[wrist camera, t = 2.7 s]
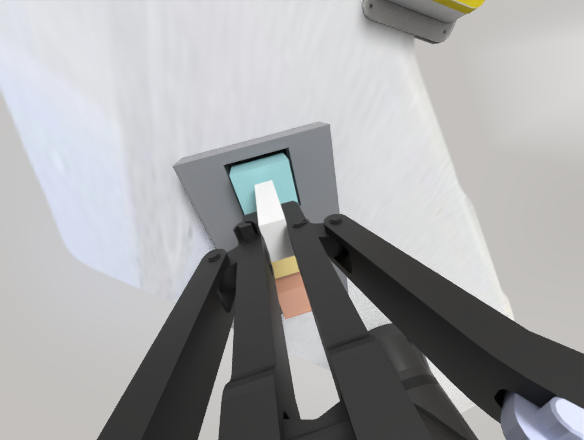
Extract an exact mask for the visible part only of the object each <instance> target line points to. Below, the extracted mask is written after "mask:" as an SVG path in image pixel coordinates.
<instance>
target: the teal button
mask: <svg viewBox="0 0 584 440" xmlns="http://www.w3.org/2000/svg"><path fill="white" fill-rule="evenodd" d="M229 176H230V179H231V181H232V184H233V186H234V189H235V192H236V194H237V197H238V199H239V202H240V204H241V207H242V209H243V212H244V214H245V215H246V214H249V213H253V212H256V211H257V205H256V195H255V186H254V185H256V184H259V183H263V182H267V181H270V180H272V181H273V184H274V187H275V190H276V193H277V196H278V199H279V202H280V204H282V203H286V202H289V201H295V202H297V203H298V200H297V195H296V191H295V187H294V182H293V178H292V173H291V169H290V164H289V160H288V158H287V157H286V156H285V154H284V153H283V152H282V153H278V154H275V155H271V156H267V157H264V158H260V159H256V160H253V161H249V162H245V163H241V164H238V165H234V166H232V167H231V171H230V175H229Z"/></svg>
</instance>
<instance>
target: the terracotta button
mask: <svg viewBox="0 0 584 440" xmlns="http://www.w3.org/2000/svg"><path fill="white" fill-rule="evenodd" d="M275 282H276V288H277V294H278V300H279V304H280V306H281V309H282V311H283V314H284V317H285V319H288V318H291V317H294V316H297V315H301V314H304V313H307V312H310V311H312V309H311V306H310V303H309V299H308V296H307V293H306V290H305V287H304V284H303V280H302V277H301V274H300V271H299V272H296V273H293V274H290V275H286V276H283V277H280V278H276V279H275Z"/></svg>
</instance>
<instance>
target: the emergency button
mask: <svg viewBox="0 0 584 440" xmlns="http://www.w3.org/2000/svg"><path fill="white" fill-rule="evenodd" d="M484 1H485V0H363V11H364V15H365V16H366V17H367V18H368V19H371V20H373V21H376V22H379V23H382V24H385V25H388V26H391V27H394V28H397V29H400V30H402V31H405V32H408V33H411V34H414V35H415V38H417V39H419V40H422V41H425V42H428V43H431V44H438V43H441V42H443V41H444V40H446V38H448V37H449V35H450V33H451V31H452V30H453V27H454V25H455V23H456V20H457V19H458V18H460V17H462V16H463V15H465V14H467V13H470V12H472V11H473V10H475V9H477V8H478V7H479V6H481V5H482V4H483V2H484Z"/></svg>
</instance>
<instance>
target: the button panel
mask: <svg viewBox="0 0 584 440" xmlns="http://www.w3.org/2000/svg"><path fill="white" fill-rule="evenodd" d="M281 149H285V151H286V155H287V158H288V160H289V164H290V169H291V173H292V178H293V182H294V187H295V191H296V195H297V200H298V204H299V207H300V208H301V210H302V212H303V214H304V216H305V218H306V219H308V220H309V221H310V223H324V219H325V218H326V217H327V216H329V215H332V214H339V205H338V196H337V187H336V177H335V168H334V159H333V150H332V141H331V132H330V124H327V123H322V122H316V123H313V124H309V125H305V126H301V127H298V128H294V129H290V130H286V131H283V132H279V133H275V134H271V135H268V136H264V137H260V138H256V139H252V140H249V141H245V142H241V143H237V144H234V145H230V146H226V147H222V148H219V149H215V150H211V151H207V152H204V153H200V154H196V155H192V156H189V157H185V158H182V159H181V160H179V161H178V162H177V163H176V164H175V165H173V168H174V170H175V172H176V174H177V176H178V177H179V179H180V181H181V183H182V185H183V187H184V189H185V191H186V193H187V194H188V196H189V198H190V200H191V202H192V204H193V206H194V208H195V210H196V211H197V213H198V215H199V217H200V219H201V221H202V223H203V225H204V227H205V228H206V230H207V232H208V234H209V236H210V238H211V240H212V242H213V244H214V245H215V247H216V249H224V250H225V251H226V252H228V251H230V250H232V249H234V248H236V247H237V246H238V240H237V238H236V235H235V233H234V231H233V229H234V227H235V226H236V225H237V224H239V223H240V222H243V218H244V216H245V214H244V212H243V209H242V207H241V204H240V202H239V199H238V197H237V194H236V192H235V189H234V186H233V184H232V181H231V179H230V176H229V175H230V171H231V169H230V166H229V163H233V162H237V161H240V160H244V159H248V158H252V157H255V156H259V155H263V154H266V153H270V152H274V151H277V150H281ZM329 259H330V258H329ZM330 261H331V260H330ZM331 263H332V265H333V267H334V269H335V270H336V272H337V274H338V276H339V278H340V280H341V282H342V284H343V286H344V288H345V289H346V291H347V293H348V286H347V277H346V275H345V274H344V273H343V272H342V271H341V270H340V269H339V268H338V267H337V266H336V265H335V264H334V263H333V262H332V261H331ZM279 306H280V304H279ZM280 312H281V314H283V311H282V309H281V306H280Z"/></svg>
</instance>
